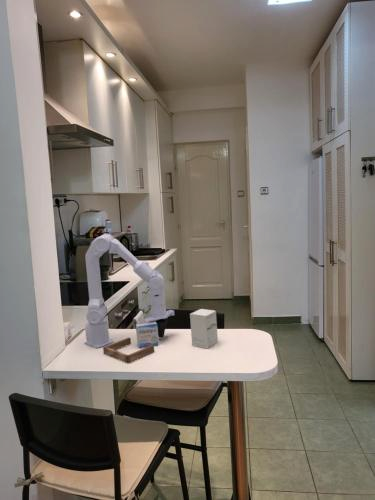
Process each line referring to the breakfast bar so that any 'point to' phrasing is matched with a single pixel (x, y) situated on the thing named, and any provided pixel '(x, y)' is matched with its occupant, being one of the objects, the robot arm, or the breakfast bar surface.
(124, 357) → the walnut bay
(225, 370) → the breakfast bar surface
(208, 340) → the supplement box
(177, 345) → the breakfast bar surface
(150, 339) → the medicine box
